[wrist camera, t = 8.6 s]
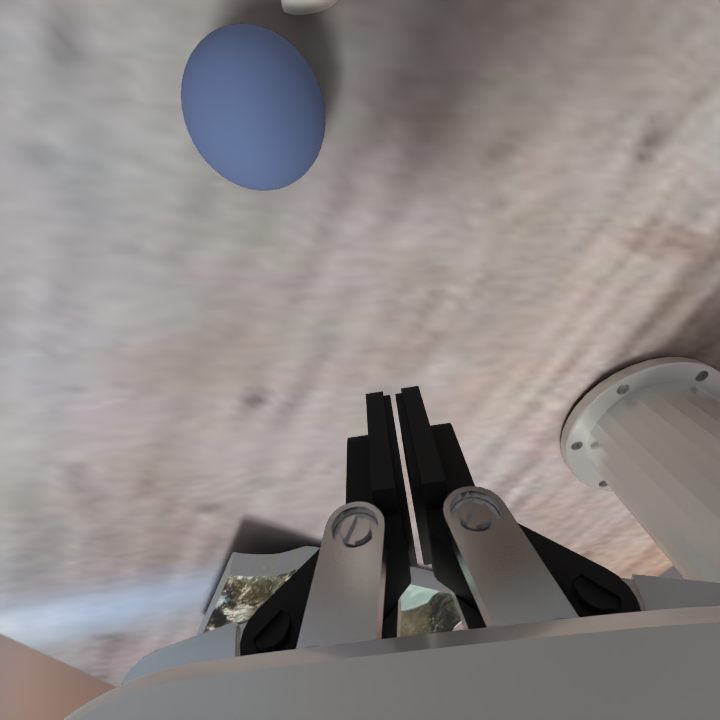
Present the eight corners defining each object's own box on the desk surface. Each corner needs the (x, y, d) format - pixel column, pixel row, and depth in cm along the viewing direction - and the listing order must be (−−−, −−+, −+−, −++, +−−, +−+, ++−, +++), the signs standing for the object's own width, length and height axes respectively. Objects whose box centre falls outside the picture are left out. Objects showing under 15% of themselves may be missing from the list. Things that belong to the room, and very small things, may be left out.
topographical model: (478, 575, 40) (493, 630, 36) (409, 629, 48) (416, 679, 44) (237, 531, 33) (223, 594, 29) (204, 603, 41) (189, 659, 37)
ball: (216, 69, 11) (343, 190, 16) (254, -59, 13) (360, 83, 17) (138, 152, 15) (258, 231, 20) (175, 45, 17) (278, 140, 21)
